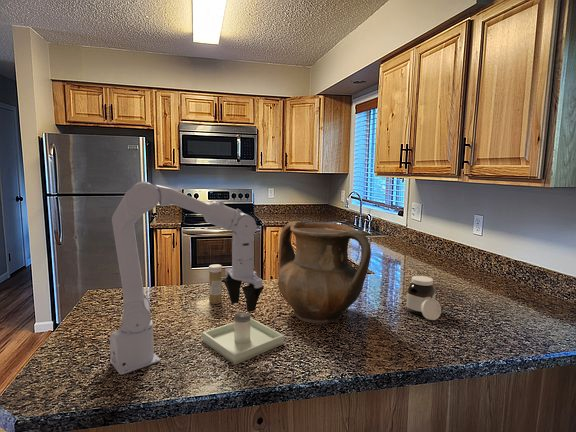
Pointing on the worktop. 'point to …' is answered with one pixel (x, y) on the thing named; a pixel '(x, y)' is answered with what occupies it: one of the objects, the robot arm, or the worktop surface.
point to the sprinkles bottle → (215, 283)
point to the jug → (320, 270)
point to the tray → (236, 353)
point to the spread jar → (423, 298)
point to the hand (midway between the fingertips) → (242, 306)
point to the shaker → (242, 328)
